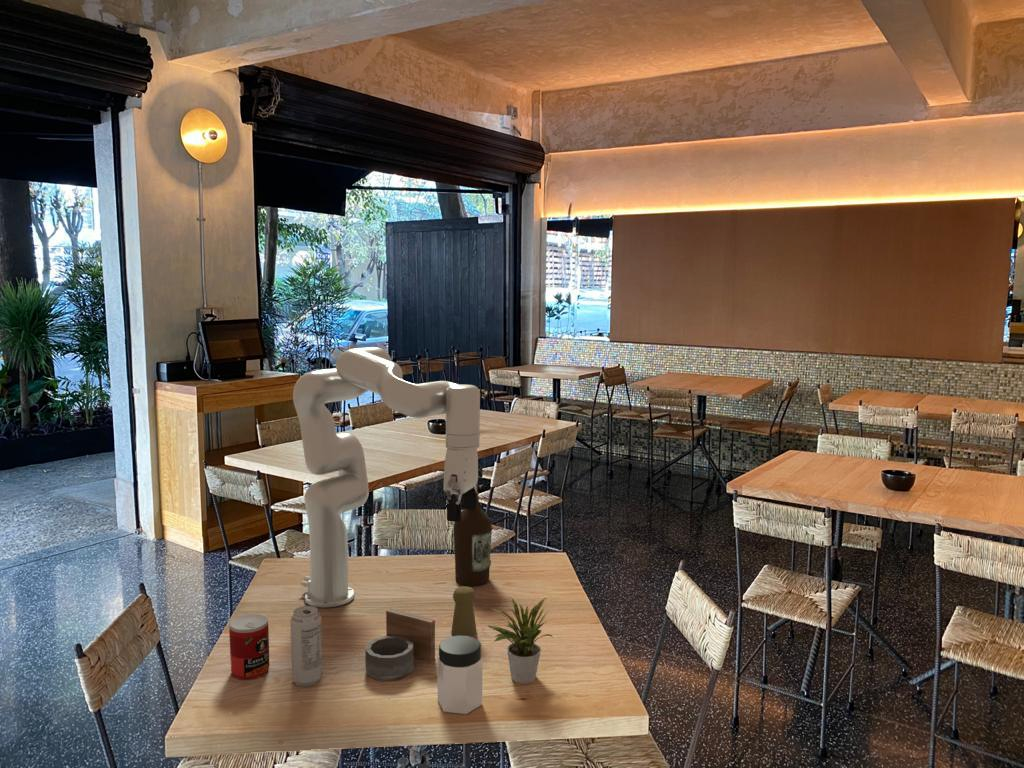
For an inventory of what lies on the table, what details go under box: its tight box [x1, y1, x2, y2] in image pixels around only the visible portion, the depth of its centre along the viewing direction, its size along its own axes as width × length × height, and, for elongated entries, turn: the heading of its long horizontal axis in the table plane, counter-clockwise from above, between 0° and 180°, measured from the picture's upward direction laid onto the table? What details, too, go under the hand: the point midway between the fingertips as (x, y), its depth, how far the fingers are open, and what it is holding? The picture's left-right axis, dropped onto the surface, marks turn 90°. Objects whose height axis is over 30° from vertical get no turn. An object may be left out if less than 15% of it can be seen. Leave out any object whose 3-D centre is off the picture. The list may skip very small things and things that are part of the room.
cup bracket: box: [364, 608, 436, 682], centre depth 160 cm, size 13×12×9 cm
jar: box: [437, 635, 484, 715], centre depth 145 cm, size 9×8×12 cm
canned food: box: [228, 613, 270, 681], centre depth 157 cm, size 8×8×11 cm
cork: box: [450, 585, 477, 638], centre depth 175 cm, size 6×6×11 cm
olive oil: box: [452, 491, 493, 587], centre depth 207 cm, size 11×11×25 cm
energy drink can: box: [290, 605, 323, 687], centre depth 153 cm, size 6×6×15 cm
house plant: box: [487, 596, 554, 685], centre depth 156 cm, size 14×14×16 cm
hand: (462, 514), depth 168 cm, fingers open, 9 cm apart
